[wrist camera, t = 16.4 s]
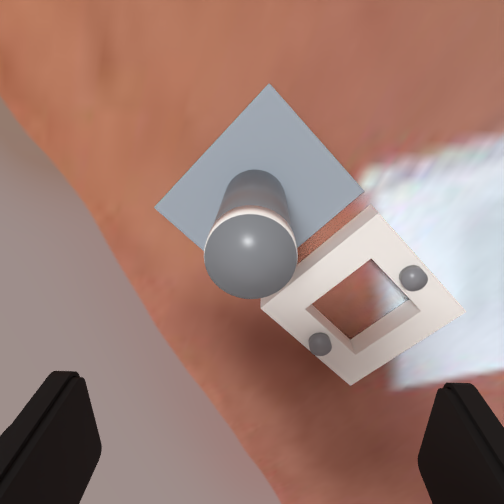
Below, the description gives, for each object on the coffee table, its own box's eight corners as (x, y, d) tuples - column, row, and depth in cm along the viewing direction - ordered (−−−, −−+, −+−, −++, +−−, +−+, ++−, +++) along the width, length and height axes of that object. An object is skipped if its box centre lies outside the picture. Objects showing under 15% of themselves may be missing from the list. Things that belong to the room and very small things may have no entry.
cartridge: (287, 168, 25) (300, 215, 16) (284, 229, 27) (295, 300, 18) (222, 168, 25) (200, 213, 16) (224, 228, 27) (205, 299, 18)
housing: (454, 297, 30) (471, 317, 27) (345, 369, 34) (352, 392, 31) (370, 203, 27) (382, 216, 24) (260, 294, 30) (260, 314, 28)
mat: (363, 190, 26) (364, 191, 26) (248, 287, 30) (247, 289, 30) (268, 83, 23) (269, 83, 23) (155, 206, 27) (153, 207, 27)
